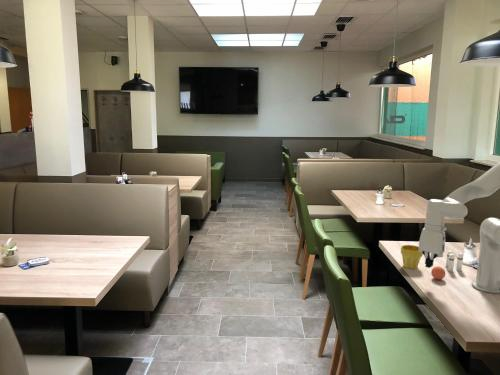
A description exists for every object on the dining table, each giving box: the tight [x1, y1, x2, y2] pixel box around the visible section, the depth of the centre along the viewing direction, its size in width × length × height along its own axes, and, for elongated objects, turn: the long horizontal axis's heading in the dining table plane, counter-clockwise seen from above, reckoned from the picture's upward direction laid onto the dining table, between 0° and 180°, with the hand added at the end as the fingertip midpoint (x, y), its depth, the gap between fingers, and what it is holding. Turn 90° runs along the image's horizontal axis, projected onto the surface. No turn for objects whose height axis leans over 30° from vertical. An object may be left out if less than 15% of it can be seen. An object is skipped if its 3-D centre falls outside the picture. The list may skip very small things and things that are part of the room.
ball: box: [430, 266, 446, 280], centre depth 189 cm, size 6×6×6 cm
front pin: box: [447, 253, 456, 272], centre depth 199 cm, size 2×2×8 cm
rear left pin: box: [445, 250, 454, 269], centre depth 204 cm, size 2×2×8 cm
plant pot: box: [400, 244, 424, 270], centre depth 204 cm, size 10×10×10 cm
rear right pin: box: [455, 252, 464, 272], centre depth 200 cm, size 2×2×8 cm
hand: (428, 266), depth 182 cm, fingers closed
